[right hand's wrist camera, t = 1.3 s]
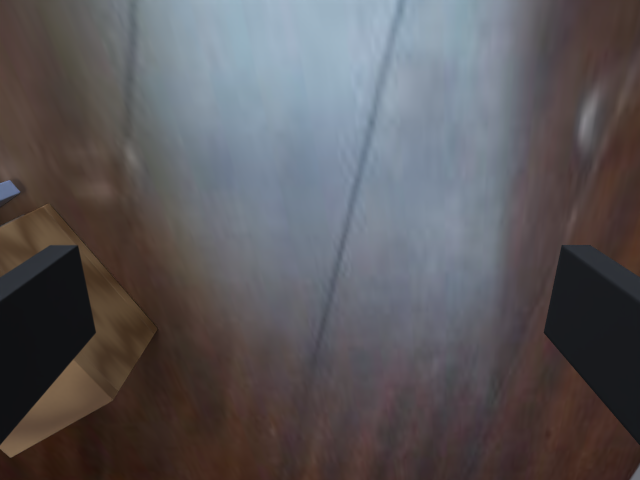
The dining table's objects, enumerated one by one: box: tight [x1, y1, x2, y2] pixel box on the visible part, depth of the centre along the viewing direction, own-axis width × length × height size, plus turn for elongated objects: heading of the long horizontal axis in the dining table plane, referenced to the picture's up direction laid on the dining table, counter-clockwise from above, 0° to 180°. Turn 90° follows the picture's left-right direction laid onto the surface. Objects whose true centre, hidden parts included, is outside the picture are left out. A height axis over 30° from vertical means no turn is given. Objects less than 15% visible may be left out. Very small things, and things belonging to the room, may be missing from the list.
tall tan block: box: [0, 204, 157, 458], centre depth 35 cm, size 14×10×10 cm
